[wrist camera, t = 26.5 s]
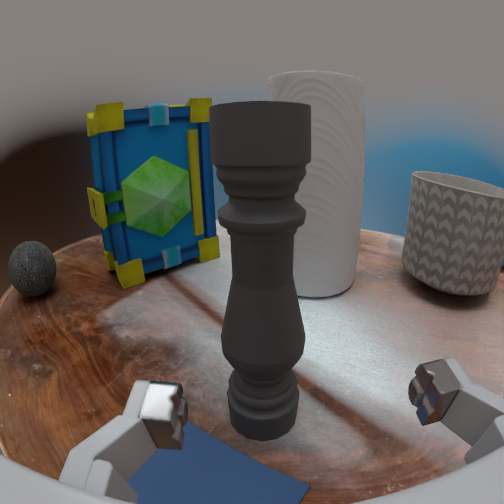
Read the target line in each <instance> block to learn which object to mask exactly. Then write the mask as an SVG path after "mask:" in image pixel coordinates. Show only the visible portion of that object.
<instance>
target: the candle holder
mask: <svg viewBox="0 0 504 504" xmlns="http://www.w3.org/2000/svg"><path fill="white" fill-rule="evenodd" d="M209 124H210V149H211V164H213V165H215V166H216V167H217V171H216V175H217V178H218V180H219V181H220V182H221V183H222V184H223V186H224V191H225V193H226V194H227V195H229V201H228V202H227V203H226V204H225V205H223V206H222V207H221V208H220V209H219V210H218V218H219V223H220V225H221V226H223V227H224V228H226V229H227V232H228V234H229V235H230V238H231V257H232V274H233V276H232V281H231V286H230V291H229V296H228V302H227V307H226V312H225V317H224V322H223V327H222V333H221V342H222V350H223V354H224V356H225V358H226V359H227V361H228V362H229V363H230V364H231V365H232V367H233V368H234V370H233V372H232V374H231V376H230V379H229V389H228V391H227V396H228V404H229V411H230V419H231V424H232V425H233V426H234V428H235V429H236V431H237V432H238V433H240V434H242V435H243V436H245V437H247V438H249V439H254V440H260V441H265V440H271V439H277V438H278V437H280V436H282V435H284V434H286V433H288V431H289V430H290V429H291V428H292V426H293V425H294V424H295V419H296V414H297V407H298V400H299V390H298V387H297V384H298V380H297V377H296V375H295V372H294V370H292V369H291V368H292V367H293V366H294V365H295V364H296V363H297V362H298V360H299V359H300V358H301V356H302V354H303V350H304V344H305V331H304V327H303V322H302V317H301V312H300V307H299V302H298V297H297V292H296V288H295V283H294V278H293V258H294V234H296V232H297V228H299V227H300V226H302V225H303V224H304V221H305V218H306V210H305V209H304V208H303V207H302V206H301V205H300V204H299V203H297V202H296V201H295V194H296V193H297V192H298V190H299V185H300V183H301V182H302V180H303V179H304V177H305V175H306V165H307V164H308V163H310V162H311V106H310V105H308V104H303V103H295V102H283V101H249V102H234V103H225V104H218V105H214V106H210V107H209Z"/></svg>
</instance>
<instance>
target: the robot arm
mask: <svg viewBox="0 0 504 504" xmlns="http://www.w3.org/2000/svg"><path fill="white" fill-rule="evenodd" d="M415 374H416V376H415V377H414V378H413V379H412V380H411V382H410V385H409V391H408V394H409V399H410V401H411V403H412V405H414V406H416V407H417V411H416V414H417V416H418V418H419V420H420V422H421V424H422V426H424V425H428V424H431V423H435V422H438V421H441V423H443V424H444V425H445V426H446V427H448V428H449V429H450V430H452V431H453V432H454V433H455V434H457V435H458V436H459V437H461V438H462V439H463V440H464V441H466V442H467V443H468V444H470V445H471V446H472V447H471V449H470V450H469V451H468V452H467V453H466V454H465V457H464V458H465V460H466V463H467V465H465V466H463V467H461V468H459V469H457V470H454V471H452V472H450V473H448V474H445V475H443V476H440V477H438V478H435V479H433V480H430V481H428V482H425V483H422V484H419V485H416V486H414V487H411V488H408V489H404V490H401V491H398V492H395V493H391V494H388V495H384V496H381V497H377V498H373V499H369V500H365V501H360V502H356V503H351V504H504V397H502V396H500V395H498V394H496V393H494V392H492V391H490V390H488V389H486V388H484V387H483V386H481V385H479V384H477V383H475V384H473V383H472V381H471V380H470V378H469V377H468V375H467V374H466V372H465V371H464V370H463V368H462V367H461V365H460V364H459V363H458V361H457V360H456V358H454V357H448V358H444V359H439V360H435V361H431V362H427V363H423V364H420V365H418V366H417V368H416V370H415ZM182 394H183V388H182V385H181V384H179V383H167V382H156V381H145V380H137V381H136V382H135V383H134V385H133V387H132V390H131V393H130V396H129V398H128V401H127V404H126V406H125V409H124V412H123V415H122V416H120V415H118V416H117V417H115V418H114V419H113V420H111V421H110V422H109V423H107V424H106V425H105V426H103V427H102V428H100V429H99V430H98V431H96V432H95V433H94V434H92V435H91V436H89V437H88V438H87V439H85V440H84V441H83V442H81V443H80V444H78V445H77V446H76V447H74V448H73V449H71V450H70V452H69V455H68V457H67V460H66V462H65V465H64V467H63V470H62V472H61V475H60V478H59V480H55V479H53V478H50V477H48V476H45V475H43V474H41V473H38V472H36V471H34V470H32V469H29V468H27V467H25V466H23V465H21V464H19V463H17V462H15V461H13V460H11V459H9V458H7V457H5V456H3V455H1V454H0V504H137V500H138V493H137V492H136V491H135V490H134V489H133V488H132V487H131V486H130V484H129V483H128V482H127V481H128V480H129V479H130V478H131V477H132V476H133V475H134V474H135V473H136V472H137V471H138V470H139V469H140V468H141V467H142V466H143V465H144V464H145V463H146V462H147V461H148V460H149V459H150V457H151V456H152V455H153V454H154V453H155V452H156V451H157V450H158V449H157V448H160V449H171V450H182V448H183V442H184V436H185V434H184V431H183V429H182V428H183V427H184V426H185V425H186V424H187V417H188V408H187V402H186V399H185V398H184V397H182Z"/></svg>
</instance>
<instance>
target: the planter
mask: <svg viewBox="0 0 504 504" xmlns="http://www.w3.org/2000/svg"><path fill="white" fill-rule="evenodd" d="M503 258H504V189H502V188H499V187H497V186H494V185H491V184H488V183H485V182H481V181H477V180H474V179H469V178H465V177H460V176H456V175H450V174H444V173H436V172H424V171H418V172H413V173H412V181H411V192H410V202H409V212H408V219H407V226H406V234H405V240H404V247H403V253H402V264H403V266H404V268H405V269H406V270H407V271H408V272H409V273H410V274H411V275H413V276H414V277H415V278H417V279H418V280H420V281H422V282H424V283H425V284H426V285H428V286H429V287H431V288H433V289H435V290H437V291H439V292H442V293H445V294H450V295H482V294H486V293H488V292H490V291H492V290H493V289H494V288H495V286H496V283H497V279H498V276H499V273H500V269H501V266H502V262H503Z"/></svg>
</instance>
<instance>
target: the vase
mask: <svg viewBox="0 0 504 504" xmlns="http://www.w3.org/2000/svg"><path fill="white" fill-rule="evenodd" d="M268 101H283V102H295V103H303V104H308V105H310V106H311V162H310V163H308V164H307V165H306V175H305V177H304V179H303V180H302V182H301V183H300V185H299V190H298V192H297V193H296V194H295V201H296V202H297V203H299V204H300V205H301V206H302V207H303V208H304V209H305V210H306V218H305V221H304V224H303V225H302V226H300V227H299V228H297V232H296V234H294V258H293V278H294V283H295V288H296V292H297V295H298V296H303V297H313V298H317V297H328V296H333V295H336V294H339V293H341V292H343V291H345V290H346V289H348V288H349V287H350V286H351V285H352V283H353V280H354V275H355V270H356V264H357V257H358V248H359V239H360V228H361V214H362V201H363V183H364V153H365V152H364V151H365V150H364V149H365V148H364V147H365V120H364V119H365V116H364V87H363V81H362V80H361V79H359V78H357V77H354V76H351V75H346V74H342V73H335V72H324V71H295V72H286V73H281V74H276V75H273V76H271V77H269V79H268Z"/></svg>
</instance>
